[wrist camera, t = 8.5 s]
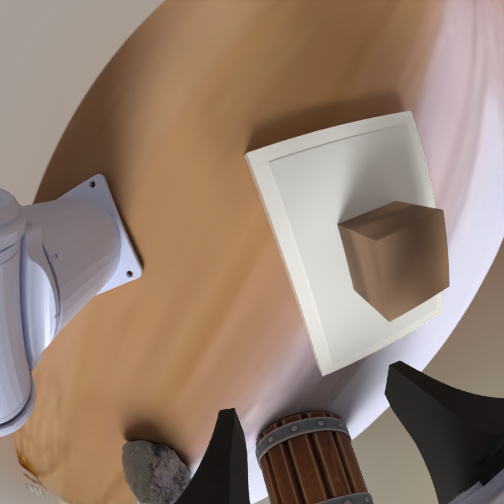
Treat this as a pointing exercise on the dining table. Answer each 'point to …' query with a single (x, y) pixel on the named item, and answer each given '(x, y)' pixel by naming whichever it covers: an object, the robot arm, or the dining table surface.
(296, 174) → the white tray
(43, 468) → the dining table surface
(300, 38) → the dining table surface
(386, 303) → the walnut block
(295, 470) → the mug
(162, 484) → the mineral rock
